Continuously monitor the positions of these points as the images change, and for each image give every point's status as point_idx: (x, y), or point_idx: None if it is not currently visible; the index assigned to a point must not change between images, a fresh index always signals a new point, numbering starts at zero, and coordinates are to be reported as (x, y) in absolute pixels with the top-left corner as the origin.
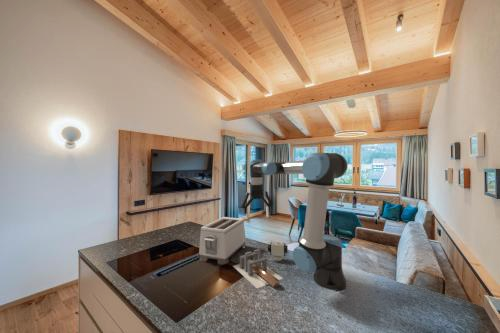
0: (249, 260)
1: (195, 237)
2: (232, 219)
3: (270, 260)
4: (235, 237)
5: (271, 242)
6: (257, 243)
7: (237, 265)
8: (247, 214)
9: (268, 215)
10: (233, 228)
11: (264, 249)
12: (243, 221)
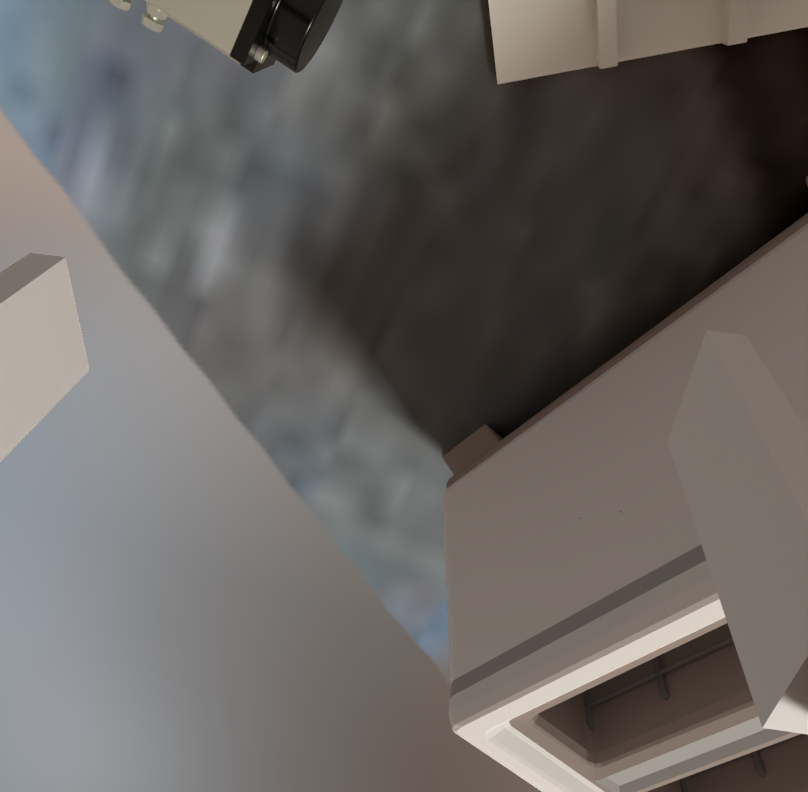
0: (616, 26)
1: None
2: (601, 782)
3: None
4: None
5: (240, 40)
6: (311, 464)
7: (793, 4)
8: (780, 422)
9: (9, 275)
10: None
11: (292, 311)
12: (458, 687)
